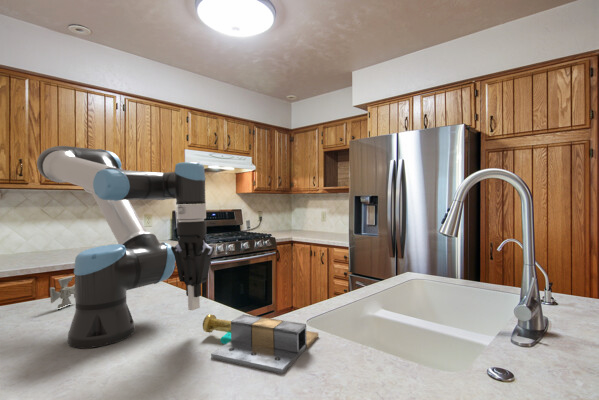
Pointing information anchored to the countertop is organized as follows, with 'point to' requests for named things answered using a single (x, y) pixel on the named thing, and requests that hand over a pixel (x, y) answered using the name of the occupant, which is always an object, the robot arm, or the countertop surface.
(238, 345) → the sliding bolt latch
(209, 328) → the pin
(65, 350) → the countertop surface
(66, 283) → the cross
